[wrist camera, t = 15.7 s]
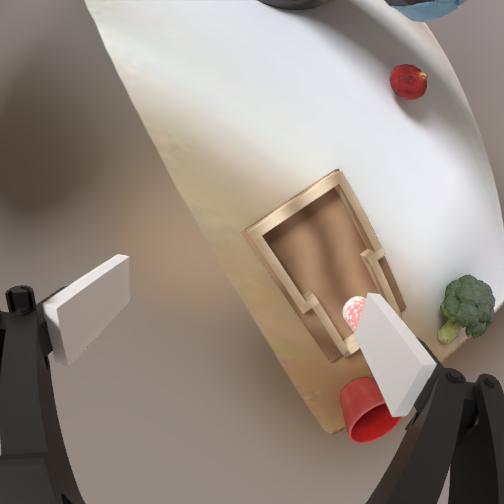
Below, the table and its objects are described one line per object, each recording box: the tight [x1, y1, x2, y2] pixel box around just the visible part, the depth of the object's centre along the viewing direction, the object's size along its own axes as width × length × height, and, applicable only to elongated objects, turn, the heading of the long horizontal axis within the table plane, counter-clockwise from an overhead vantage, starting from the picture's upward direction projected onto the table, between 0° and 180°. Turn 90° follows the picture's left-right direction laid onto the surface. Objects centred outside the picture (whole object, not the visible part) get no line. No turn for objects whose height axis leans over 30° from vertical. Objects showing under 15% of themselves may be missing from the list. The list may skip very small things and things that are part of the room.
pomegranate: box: [390, 64, 427, 100], centre depth 32 cm, size 6×6×8 cm
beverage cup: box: [343, 296, 366, 333], centre depth 35 cm, size 6×6×14 cm
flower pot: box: [340, 377, 402, 443], centre depth 43 cm, size 11×11×10 cm
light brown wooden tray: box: [241, 169, 406, 363], centre depth 39 cm, size 16×26×4 cm, turn 34°
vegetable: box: [437, 275, 495, 344], centre depth 41 cm, size 12×13×15 cm
